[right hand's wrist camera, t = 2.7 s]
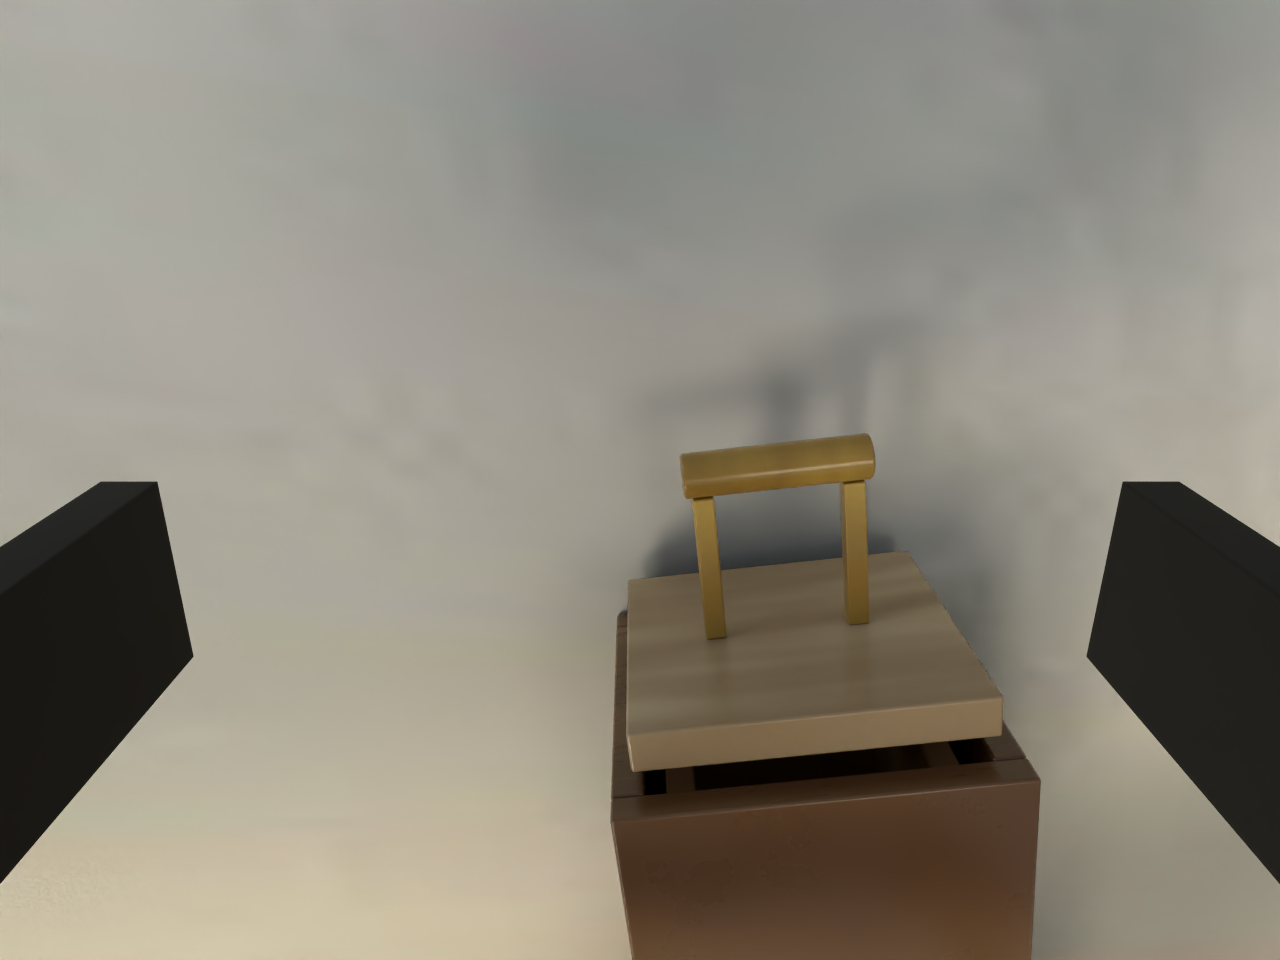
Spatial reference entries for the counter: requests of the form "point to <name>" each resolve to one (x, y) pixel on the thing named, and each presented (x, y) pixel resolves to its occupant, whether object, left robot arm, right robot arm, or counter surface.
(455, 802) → the counter surface
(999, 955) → the cabinet
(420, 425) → the counter surface
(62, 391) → the counter surface
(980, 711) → the drawer
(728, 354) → the counter surface
